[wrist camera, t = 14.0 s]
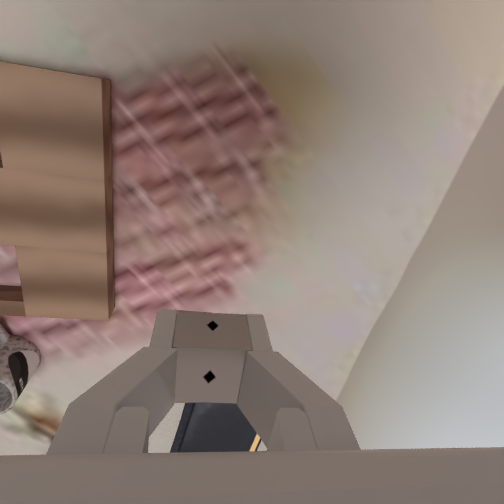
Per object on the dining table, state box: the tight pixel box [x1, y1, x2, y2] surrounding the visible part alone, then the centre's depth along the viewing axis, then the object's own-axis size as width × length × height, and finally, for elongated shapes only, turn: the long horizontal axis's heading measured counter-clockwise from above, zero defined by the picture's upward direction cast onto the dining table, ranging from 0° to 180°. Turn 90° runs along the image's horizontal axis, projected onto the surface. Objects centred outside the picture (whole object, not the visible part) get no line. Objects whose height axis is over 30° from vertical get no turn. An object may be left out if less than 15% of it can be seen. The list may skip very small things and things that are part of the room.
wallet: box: [170, 402, 261, 453], centre depth 54 cm, size 20×2×15 cm
